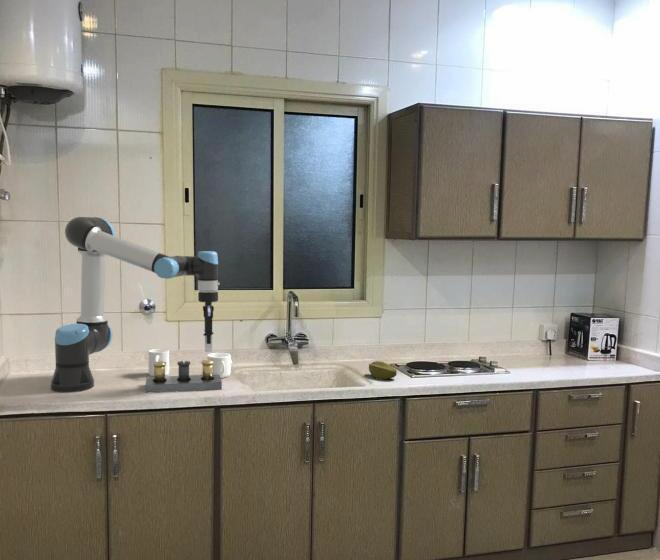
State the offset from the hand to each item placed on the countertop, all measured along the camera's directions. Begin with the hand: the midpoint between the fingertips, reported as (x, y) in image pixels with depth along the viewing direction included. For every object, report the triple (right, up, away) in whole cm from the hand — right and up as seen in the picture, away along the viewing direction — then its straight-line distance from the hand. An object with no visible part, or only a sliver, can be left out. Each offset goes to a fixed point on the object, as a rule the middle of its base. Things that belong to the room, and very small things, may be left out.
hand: (208, 351), depth 232 cm
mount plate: (-9, -14, -1) cm, 17 cm away
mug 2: (+2, -13, +16) cm, 21 cm away
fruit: (+70, -14, +22) cm, 74 cm away
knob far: (-1, -11, +1) cm, 11 cm away
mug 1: (-24, -12, +16) cm, 31 cm away
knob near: (-18, -11, -4) cm, 21 cm away
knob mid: (-9, -11, -1) cm, 14 cm away
